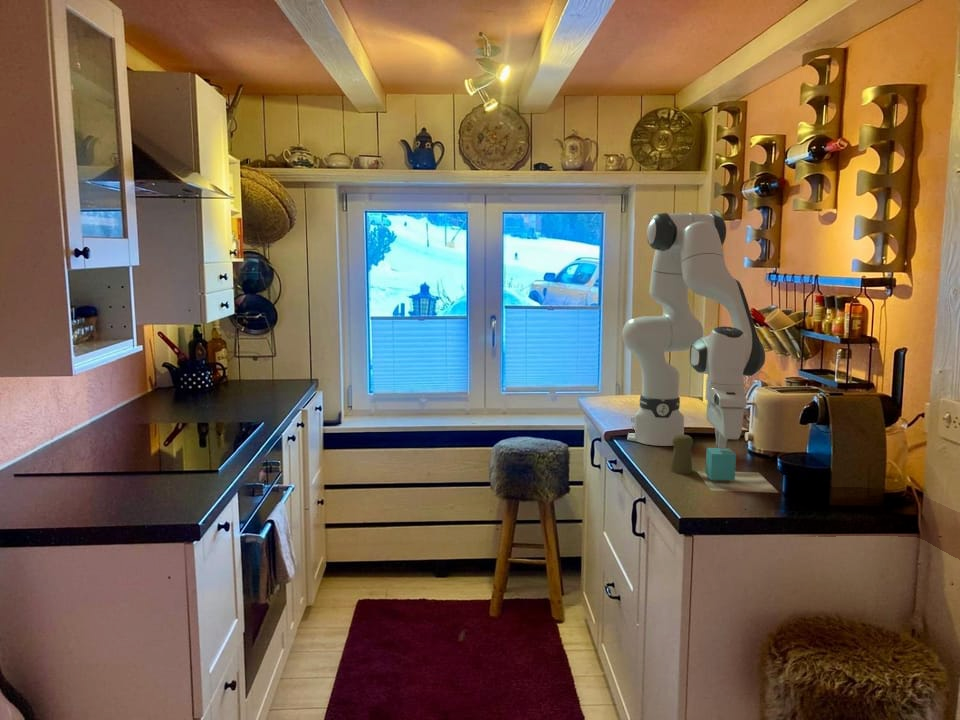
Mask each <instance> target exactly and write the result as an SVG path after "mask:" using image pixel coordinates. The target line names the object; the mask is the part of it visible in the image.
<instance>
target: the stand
mask: <svg viewBox="0 0 960 720" xmlns="http://www.w3.org/2000/svg"><path fill="white" fill-rule="evenodd" d="M696 473H698V475H699V476H700V478H701V479H702V481H703V482H704V484H705V485H706V486H707V487H708V488H709V490H710V491H713V492H714V491H718V492H742V493H743V492H745V493H747V492H748V493H750V492H751V493H774V494H777V493H778V494H779V491H778V490H777V489H776V488H775V487H774V486H773V485H772V484H771V483H770V482H769V481H768V480H767V479H766V478H765V477H764V476H763V475H762V474H761V473H760V472H755V471H754V472H750V471H749V472H748V471H735V481H731V480H710V478H709V477H708V476H707V474H706V473H705V470H696Z"/></svg>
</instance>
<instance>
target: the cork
mask: <svg viewBox="0 0 960 720" xmlns="http://www.w3.org/2000/svg"><path fill="white" fill-rule="evenodd" d="M672 443H673V445H672V446H673V452H672V458H671V463H670V468H669V470H670V471H671V473H675V474H683V475H687V474H691V473H693V465H692V464H693V463H692V451H691V448H692V447H693V444H694V440H693V438H692V436H690V435H688V434H684V435H683V434H679V435H675V436H674V437H673V440H672Z"/></svg>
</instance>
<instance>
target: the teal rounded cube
mask: <svg viewBox="0 0 960 720" xmlns="http://www.w3.org/2000/svg"><path fill="white" fill-rule="evenodd" d="M736 463H737V454H736V453H735V452H734V451H733V450H732V449H731V448H728V447H726V448H725V449H719V448H718V447H706V454H705V470H704V471H705V473H706V474H707V476H708V477H709V478H710V480H731V481H735V472H736V467H737V466H736V465H737V464H736Z"/></svg>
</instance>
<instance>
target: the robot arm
mask: <svg viewBox="0 0 960 720" xmlns="http://www.w3.org/2000/svg"><path fill="white" fill-rule="evenodd" d="M726 237H727V224H726V222H725V221H724V218H723V217H721V216H719V215H715V214H713V213H708V214H705V213H698V212H677V213H675V212H674V213H667V212H664V213H663V212H662V213H657V214H655V215H653V216H652V217H651V218H650V219H649V222H648V224H647V229H646V239H647V243H648V245H649V246H650V248H652V249H654V250H655V251H654V254H653V260H652V265H651V271H650V281H649V289H648V290H649V291H648V292H649V296H650V298H651V299H652V300H653V301H654V302H655V303H656V304H658V305H660V306H661V307H662V315H658V316H657V315H652V316H651V315H650V316H649V315H648V316H645V315H643V316H638V317H634V318H631V319H628V320H627V321H626V322H625V324H624V325H623V328H622V332H621V337H622V341H623V342H622V343H624V345H625V347H626V348H627V349H628V350H629V351H630V352H631V353H632V354H633V355H634V357H636V359H637V360H638V363H639V366H640V369H641V370H640V371H641V394H640V396H639V397H640V398H639V406H640V407H639V409H638V410H637V412H636V413H635V415H632V416H631V420H630V424H633V425H632V426H631V427H632V429H634V430H635V433H629V432H628V434H627V441H632V442H637V443H640V444H643V445H650V446H659V447H663V446H664V447H667V446H668V447H669V446H670V447H671V446H673V443H672V440H673V437H674V436H675V435H679V434H683V435H685V428H684V427H685V424H684V423H685V416H684V414H683V413H682V412H681V411H680V405H681V401H680V399H681V398H680V396H679V392H680V391H679V390H680V389H679V388H680V372H679V371H678V369H677V368H676V367H675V366H673V365H672V364H670V363H668V362H667V360H666V357H665V353H667V352H669V353H670V352H685V351H689V365H690V366H691V368H693V369H694V370H695V371H696V372H698V373H700V374H704V375H707V376H706V382H705V383H706V384H705V397H704V399H705V400H706V401H707V405H706V411H705V413H706V415H705V417H706V421H707V422H708V423H709V424H710V425H711V426H712V427H713V428H714V433H715V446H716V447H717V448H719V449H725V448H727V443H728V440H739V439H740V437H741V435H742V432H743V431H742V430H743V423H744V415H745V413H744V408H745V409H746V408H747V406H748V405H747V404H748V401H747V397H746V395H745V378H744V377H753V376H754V375H755V374H756V373H757V372H759V371H760V370H761V369H762V367H763V366H764V365H765V363H766V362H765V361H766V352H765V347H764V345H763V342H762V341H761V339H760V338H759V334H758V332H757V329H756V327H755V323H754V320H753V317H752V314H751V310H750V307H749V304H748V301H747V297H746V295H745V292H744V289H743V286H742V285H741V283H740V281H739V280H738V279H735V278H734V276H732V274H731V273H730V271H729V270H728V268H727V266H726V262H725V257H724V256H725V255H724V249H723V245H724V244H725V241H726ZM689 290H690V291H691V292H693V293H694V294H697V295H699V296H700V297H704V298H707V299H709V300H712V301H715V302H717V303H718V304H720V305H722V307H724V308H725V309H726V310H727V311H728V314H729V317H730V320H731V324H732V327H731V326H718V327H714V328H713V329H712V330H711V332H710V334H709V335H706V336H704V335H705V332H704V327H703V325H702V323H701V321H700V320H699V319H698V318H696V316H695V315H694V314H693V311H692V310H691V309H690V305H689V299H688V297H689V296H688V295H689V294H688V291H689Z"/></svg>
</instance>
